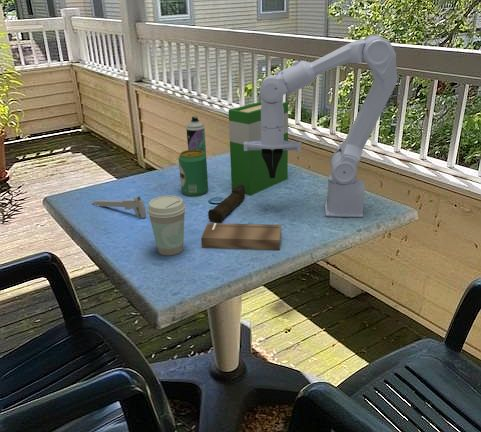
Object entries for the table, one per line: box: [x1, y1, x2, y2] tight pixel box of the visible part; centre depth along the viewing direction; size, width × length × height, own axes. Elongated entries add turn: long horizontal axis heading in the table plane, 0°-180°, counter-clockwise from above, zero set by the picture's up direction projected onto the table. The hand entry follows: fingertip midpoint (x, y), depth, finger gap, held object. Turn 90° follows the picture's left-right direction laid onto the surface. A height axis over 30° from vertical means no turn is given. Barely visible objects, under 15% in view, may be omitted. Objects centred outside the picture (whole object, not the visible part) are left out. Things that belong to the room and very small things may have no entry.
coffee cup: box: [146, 195, 187, 256], centre depth 109 cm, size 9×8×12 cm
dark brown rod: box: [207, 184, 246, 223], centre depth 131 cm, size 19×4×5 cm, turn 153°
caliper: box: [91, 195, 147, 219], centre depth 132 cm, size 20×1×6 cm, turn 57°
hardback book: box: [228, 101, 289, 197], centre depth 143 cm, size 18×7×24 cm, turn 137°
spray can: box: [186, 115, 209, 179], centre depth 150 cm, size 6×6×20 cm
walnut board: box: [200, 222, 282, 251], centre depth 114 cm, size 18×8×3 cm, turn 83°
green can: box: [178, 149, 209, 197], centre depth 142 cm, size 8×8×12 cm
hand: (272, 176), depth 127 cm, fingers closed
